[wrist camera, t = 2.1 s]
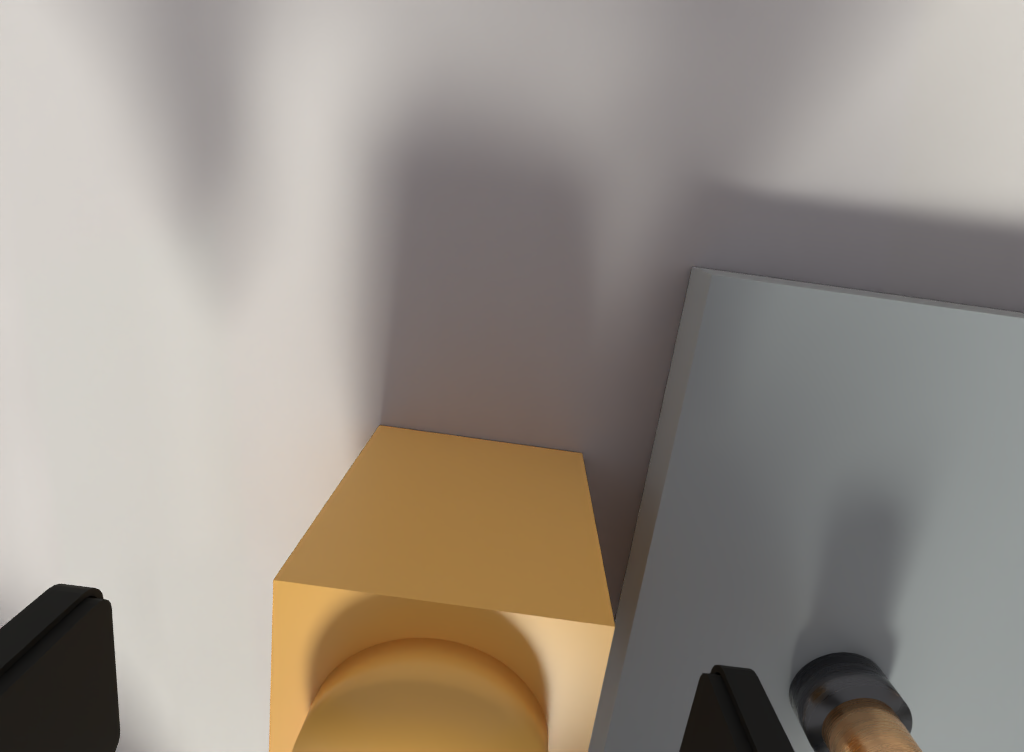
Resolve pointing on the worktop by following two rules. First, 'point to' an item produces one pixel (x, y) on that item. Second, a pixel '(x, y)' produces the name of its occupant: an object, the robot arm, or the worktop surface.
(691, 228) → the worktop surface
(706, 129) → the worktop surface
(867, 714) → the copper post
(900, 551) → the plate
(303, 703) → the yellow cube with sphere
